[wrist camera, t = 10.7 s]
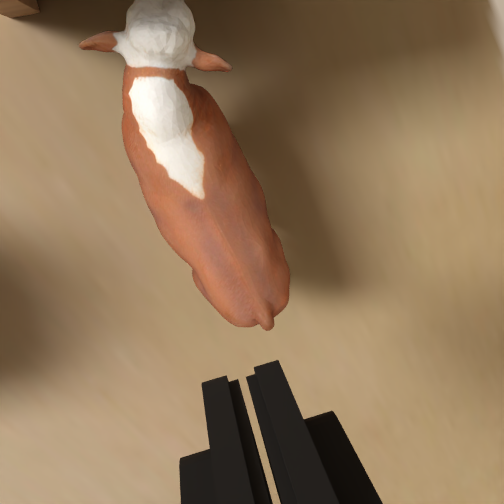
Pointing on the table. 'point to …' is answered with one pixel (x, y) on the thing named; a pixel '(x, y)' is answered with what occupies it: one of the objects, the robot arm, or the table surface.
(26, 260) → the table surface
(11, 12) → the wood grain box
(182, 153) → the bull figurine
